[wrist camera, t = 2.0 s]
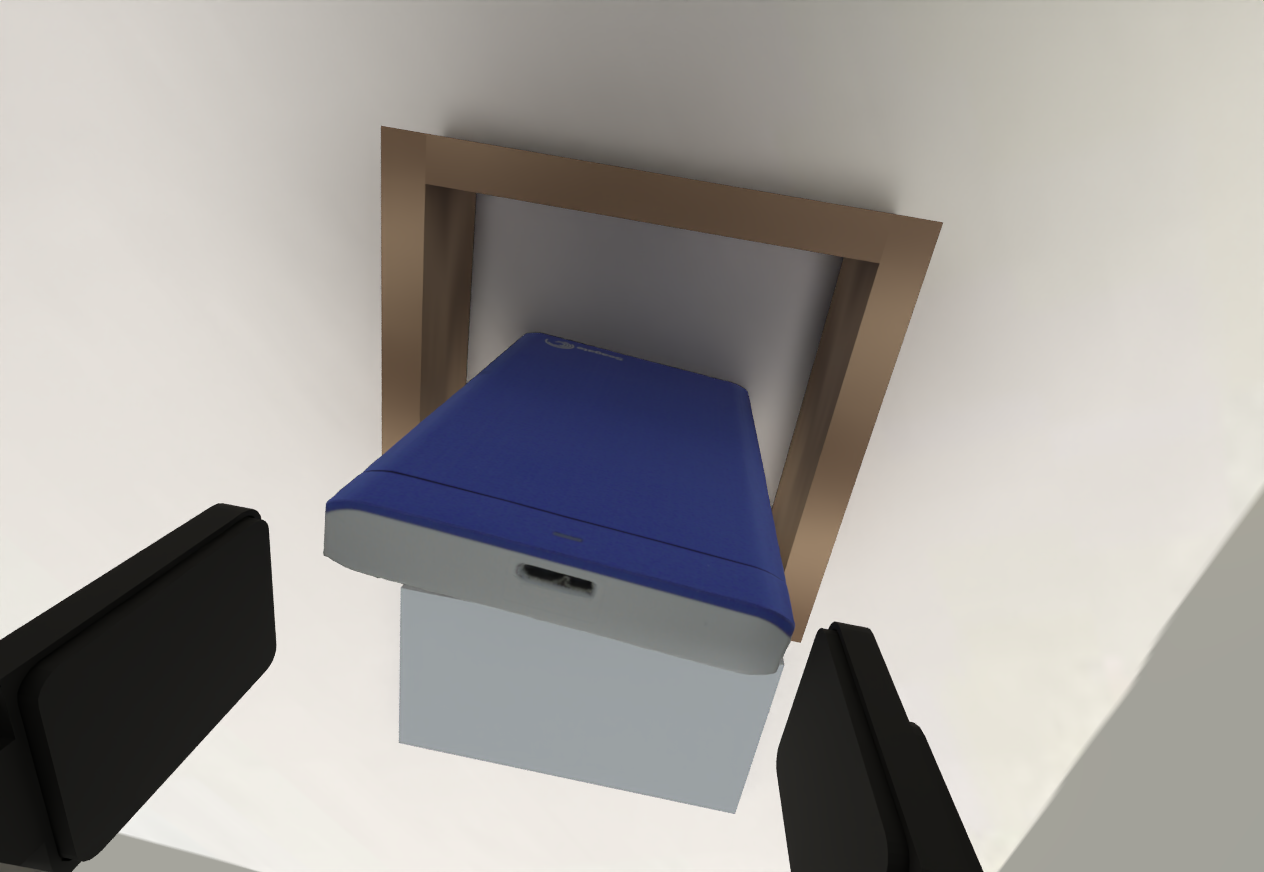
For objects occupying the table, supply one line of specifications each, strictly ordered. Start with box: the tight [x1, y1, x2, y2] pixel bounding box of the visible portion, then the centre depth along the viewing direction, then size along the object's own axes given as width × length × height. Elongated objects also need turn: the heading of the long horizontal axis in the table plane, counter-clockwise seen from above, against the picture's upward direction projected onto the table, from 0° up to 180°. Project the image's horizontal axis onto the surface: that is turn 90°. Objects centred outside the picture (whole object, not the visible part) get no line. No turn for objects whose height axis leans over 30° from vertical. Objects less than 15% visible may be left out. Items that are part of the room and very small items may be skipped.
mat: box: [399, 584, 784, 814], centre depth 27 cm, size 9×16×1 cm, turn 81°
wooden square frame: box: [381, 126, 943, 643], centre depth 20 cm, size 13×14×4 cm
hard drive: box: [323, 333, 795, 675], centre depth 16 cm, size 2×8×12 cm, turn 77°
